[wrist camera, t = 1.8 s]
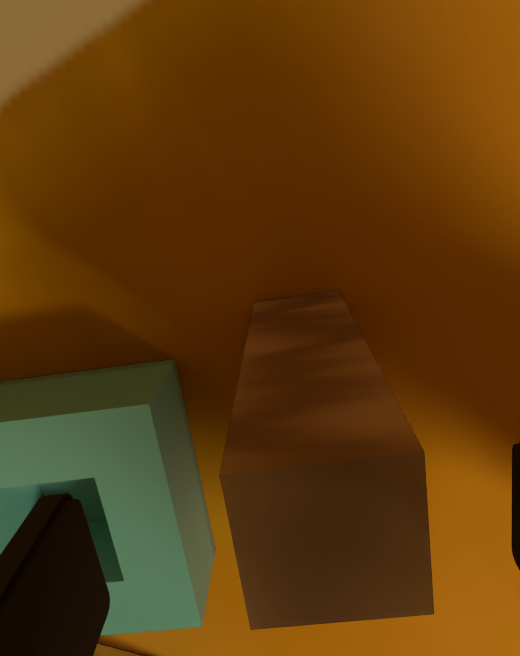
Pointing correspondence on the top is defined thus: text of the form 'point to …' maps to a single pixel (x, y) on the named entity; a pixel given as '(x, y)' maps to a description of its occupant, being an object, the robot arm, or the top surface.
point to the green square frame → (115, 483)
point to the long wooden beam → (323, 474)
